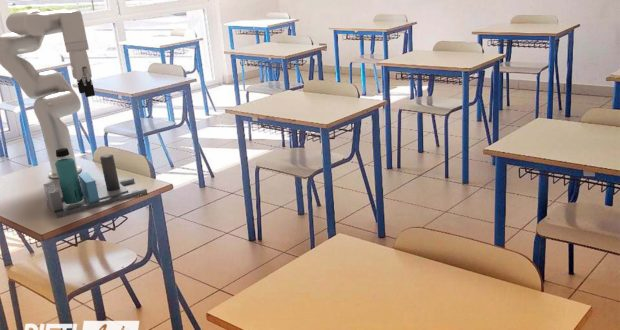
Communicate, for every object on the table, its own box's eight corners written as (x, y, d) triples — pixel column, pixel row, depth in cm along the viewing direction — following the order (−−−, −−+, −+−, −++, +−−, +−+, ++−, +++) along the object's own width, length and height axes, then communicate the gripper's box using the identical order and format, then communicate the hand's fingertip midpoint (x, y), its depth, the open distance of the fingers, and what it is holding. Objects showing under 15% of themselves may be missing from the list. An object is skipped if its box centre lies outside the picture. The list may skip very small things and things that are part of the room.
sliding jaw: (82, 195, 223) (74, 159, 219) (119, 185, 229) (112, 150, 225) (91, 204, 213) (82, 167, 209) (128, 194, 219) (121, 157, 215)
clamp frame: (47, 204, 220) (42, 182, 217) (133, 181, 234) (129, 161, 231) (56, 218, 206) (51, 195, 203) (147, 193, 220) (143, 171, 218)
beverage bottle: (78, 208, 213) (65, 151, 206) (60, 208, 214) (47, 152, 208) (88, 201, 219) (76, 145, 212) (71, 201, 220) (58, 146, 214)
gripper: (61, 46, 227) (71, 93, 232) (71, 50, 212) (82, 100, 218) (82, 43, 230) (92, 89, 236) (93, 46, 216) (103, 95, 221)
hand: (87, 94), depth 227 cm, fingers open, 9 cm apart
